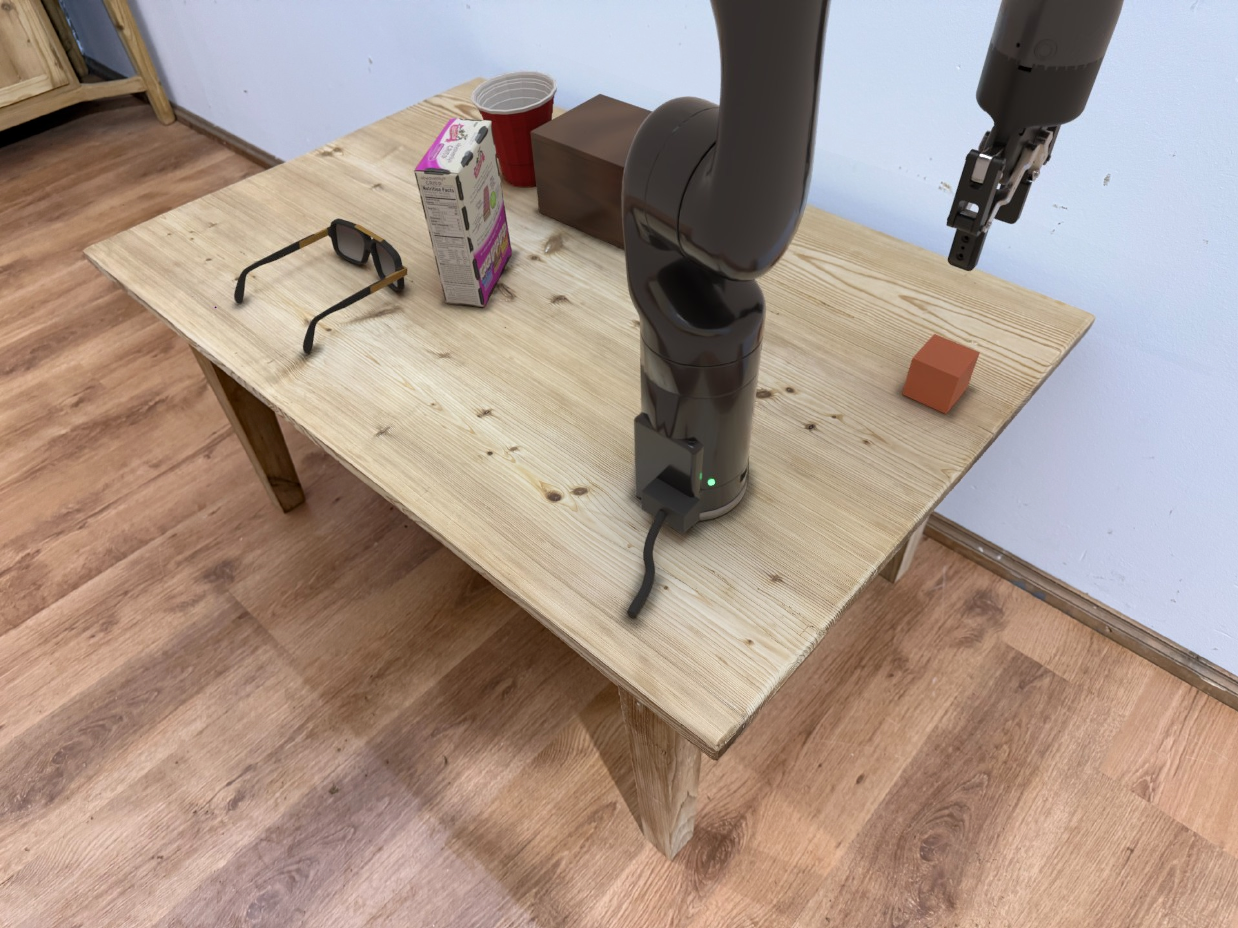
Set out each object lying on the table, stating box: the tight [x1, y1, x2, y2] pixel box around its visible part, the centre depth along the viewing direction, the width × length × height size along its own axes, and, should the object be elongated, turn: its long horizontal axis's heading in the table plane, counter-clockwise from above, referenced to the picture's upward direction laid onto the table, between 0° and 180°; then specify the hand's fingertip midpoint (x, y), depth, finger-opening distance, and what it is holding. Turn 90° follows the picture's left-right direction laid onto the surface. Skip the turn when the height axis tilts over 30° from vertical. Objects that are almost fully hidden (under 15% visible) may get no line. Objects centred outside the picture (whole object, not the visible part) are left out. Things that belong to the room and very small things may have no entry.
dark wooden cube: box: [531, 93, 654, 251], centre depth 103 cm, size 15×13×11 cm
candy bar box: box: [413, 117, 513, 308], centre depth 92 cm, size 11×5×16 cm, turn 168°
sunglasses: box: [233, 218, 408, 355], centre depth 94 cm, size 14×15×5 cm
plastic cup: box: [471, 70, 558, 188], centre depth 109 cm, size 11×11×12 cm
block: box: [901, 333, 981, 415], centre depth 81 cm, size 5×5×5 cm
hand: (983, 242), depth 71 cm, fingers open, 8 cm apart
